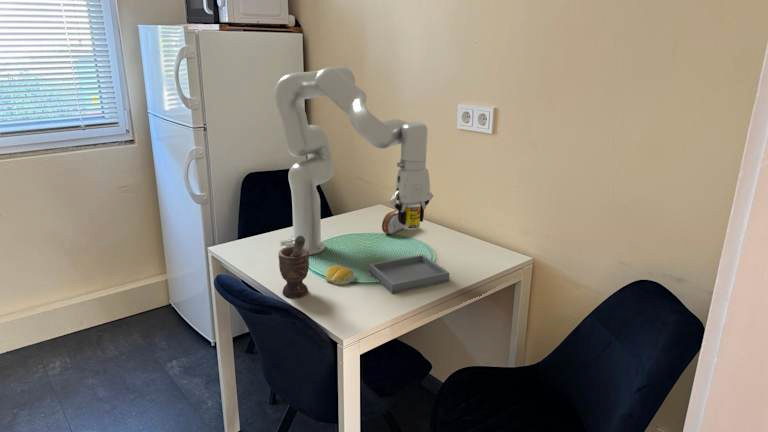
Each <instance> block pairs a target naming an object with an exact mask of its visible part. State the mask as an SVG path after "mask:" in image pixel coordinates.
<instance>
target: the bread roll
mask: <svg viewBox="0 0 768 432" xmlns="http://www.w3.org/2000/svg"><path fill="white" fill-rule="evenodd" d="M324 278H325V280H326V282H328V283H332V284H334V285H336V286H338V285H339V286H344V285H347V284H350V283H352V282H353V281H354V280H355V273H354V271H353V270H351V269H350V268H348V267H344V266H341V265H333V266H331V267H329V268H327V270H326V271H325V276H324Z"/></svg>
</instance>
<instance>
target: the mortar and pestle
mask: <svg viewBox="0 0 768 432" xmlns="http://www.w3.org/2000/svg"><path fill="white" fill-rule="evenodd" d="M304 244H305V238H304V237H303V236H298V237H297V238H296V239H295V243H294V246H289V247H286V246H285V247H283V248H281V249H279V250H278V262H279V263H278V267H279V272H280V275H281V277H282V279H283V280H284V281H285V282H286V284H285V285H284V286H283V289H282V295H283V296H285V297H288V298H301V297H304V296H306V295H307V294H308V292H309V289H308V286H307V284H305V283H303V281H304V280H305V278H307V277H308V272H309V267H310V260H309V259H310V255H309V250H308V249H307V248H305V247H304Z"/></svg>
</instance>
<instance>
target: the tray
mask: <svg viewBox="0 0 768 432" xmlns="http://www.w3.org/2000/svg"><path fill="white" fill-rule="evenodd" d="M369 273H370V274H371V275H370V274H369ZM368 274H369V275H370V276H372V277H373V278H374V280H376V279H377V280H378V281H379V282H378V281H377V280H376V281H377V282H378V283H379V284H380V285H382V286H383V287H384V288H385V289H386V290H387V291H388V292H389V293H390V294H392V295H394V294H399V293H403V292H406V291H413V290H417V289H421V288H425V287H426V288H427V287H430V286H435V285H439V284H440V285H441V284H444V283H448V282H450V272H449V271H447V270H446V269H445V268H443V267H442V266H440V265H439V263H436V262H435V261H433V260H432V259H431V258H429V257H428V256H426V255H424V254H417V255H411V256H406V257H401V258H396V259H389V260H385V261H379V262H378V261H377V262H373V263H369V264H368Z"/></svg>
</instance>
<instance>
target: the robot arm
mask: <svg viewBox="0 0 768 432" xmlns="http://www.w3.org/2000/svg"><path fill="white" fill-rule="evenodd" d="M273 95H274V102H275V106H276V109H277V111H278V115H279V119H280V122H281V129H282V132H283V136H284V142H285V145H286V150H287V152H288V154H289V155H290V156H291V157H293V158H294V157H295V158H301V157H305V156H307V158H306V159H302V160H300V161H297V162H295V163H294V164H293V165H292V166H291V167H290V168H289V171H288V182H289V188H290V191H291V203H292V204H291V205H292V207H291V208H292V209H291V210H292V234H293V235H290V238H288V239H284V240H283V239H282V240H280V241H279V245H280V247H284V246H285V247H289V246H294V243H295V239H296V238H297V237H298V236H303V237H304V238H305V244H304V247H305V248H307V249H308V250H309V256H311V255H316V254H320V253H321V252H324V251H325V250H326V243H325V242H324V241H322V237H321V236H322V235H321V234H322V233H321V231H322V230H321V229H322V228H321V222H322V221H321V198H320V194H319V192H318V190H317V187H318V186H319V185H320V184H321V185H322V184H324V183H326V182H327V181H329V180H330V179H332V176H333V174H334V163H333V159H332V154H331V149H330V143H329V139H328V136H327V134H326V133H325V131H324V129H323V128H322V127H321V126H319V125H315V124H309V122H308V117H307V113H306V111H305V109H304V107H303V106H302V104H301V102H300V101H302V100H310V99H316V98H321V97H322V98H323V97H326V98H327V99H328V100H330V101H331V102H333V104H335V105H336V106H337V107H338V108H339V109H340V110H341V111H342V112H344V113H345V114H346V115H348V118H349V119H348V120H349V121H350V123H351V125H352V127H353V129H354V130H355V132H356V133H358V134H359V136H360V137H361V138H363V139H365V141H366V142H368V143H369V144H370V145H372V146H373V147H375V148H378V149H387V148H390V147H392V146H397V145H401V146H400V160H399V162H397V163H396V165H397V167H398V168H399V169H398V172H397V176H396V181H395V189H394V193H393V195H392V197H391V198H390V199H389V200H388V201H389V202H388V203H390V204H391V205H392V206H393V207H394V208H395V210H398V221H399V223H401V224H403V225H405V224H406V212H404V211H405V208H406V205H407V204H412V203H418V202H420V204H421V207H420V223H421V222H422V223H423V222H424V218H425V217H424V216H425V212H424V211H425V210H426V208H427V205H429V203H430V201H431V200H432V199H433V198H434V195H433V193H432V192H431V184H430V183H431V182H430V174H429V169H428V168H426V167H427V147H428V126H427V125H426V124H425V123H421V122H409V121H405V120H401V119H395V118H394V119H393V118H392V119H389V120H384V121H381V120H380V119H378V118H377V117H376V116H375V115H373V114H372V112H370V110H369V109H368V108H367V106H366V103H367V101H368V95H367V93H366V92H365V91H364V90H362V89H361V88H360V87H359V86H358V85H356V77H355V75H354V72H353V71H352V70H351V69H350V68H349V67H346V66H341V65H340V66H339V65H337V66H329V67H324V68H321V69H320V70H315V71H300V72H297V71H296V72H291V73H289V74H286V75H284V76H282V77H281V78H280V79H279V80H278V82H277V83H276V85H275V88H274V94H273ZM397 201H398V202H397Z"/></svg>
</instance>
